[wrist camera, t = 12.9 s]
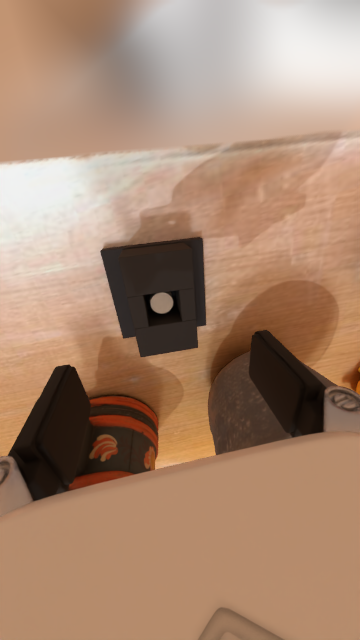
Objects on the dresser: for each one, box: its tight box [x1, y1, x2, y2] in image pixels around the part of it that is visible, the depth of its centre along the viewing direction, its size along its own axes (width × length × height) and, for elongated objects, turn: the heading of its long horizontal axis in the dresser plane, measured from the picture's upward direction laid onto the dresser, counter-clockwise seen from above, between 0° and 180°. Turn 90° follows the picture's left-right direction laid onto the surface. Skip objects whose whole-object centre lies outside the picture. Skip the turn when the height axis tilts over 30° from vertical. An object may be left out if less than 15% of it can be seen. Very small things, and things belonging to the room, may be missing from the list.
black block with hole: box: [118, 243, 198, 357], centre depth 21 cm, size 10×6×4 cm, turn 5°
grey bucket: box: [208, 351, 337, 455], centre depth 25 cm, size 18×18×15 cm
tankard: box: [68, 395, 158, 491], centre depth 23 cm, size 19×15×20 cm
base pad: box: [101, 237, 206, 338], centre depth 22 cm, size 10×10×4 cm
